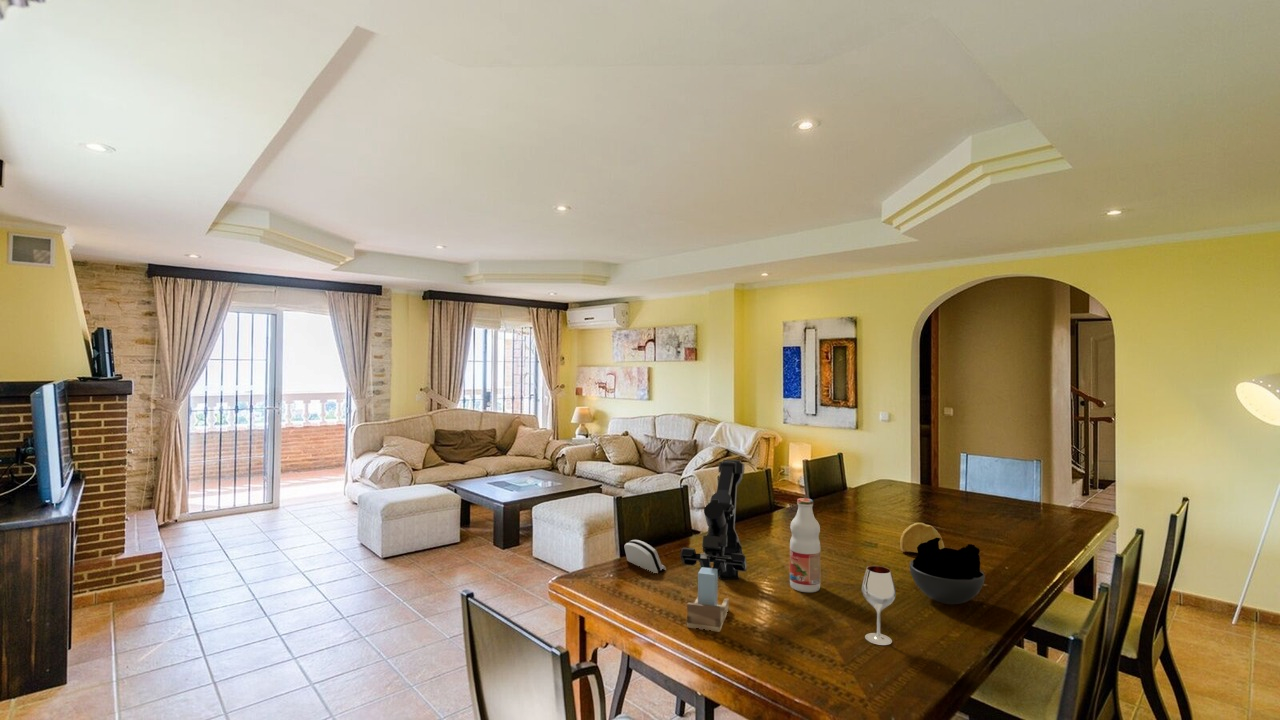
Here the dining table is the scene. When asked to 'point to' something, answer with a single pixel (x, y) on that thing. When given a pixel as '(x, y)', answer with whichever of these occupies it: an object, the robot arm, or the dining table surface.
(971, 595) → the coal bowl
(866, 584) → the wineglass
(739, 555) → the robot arm
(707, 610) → the channel
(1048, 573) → the dining table surface
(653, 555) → the white arched piece
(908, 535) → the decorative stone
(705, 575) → the light blue block
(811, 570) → the fruit juice
